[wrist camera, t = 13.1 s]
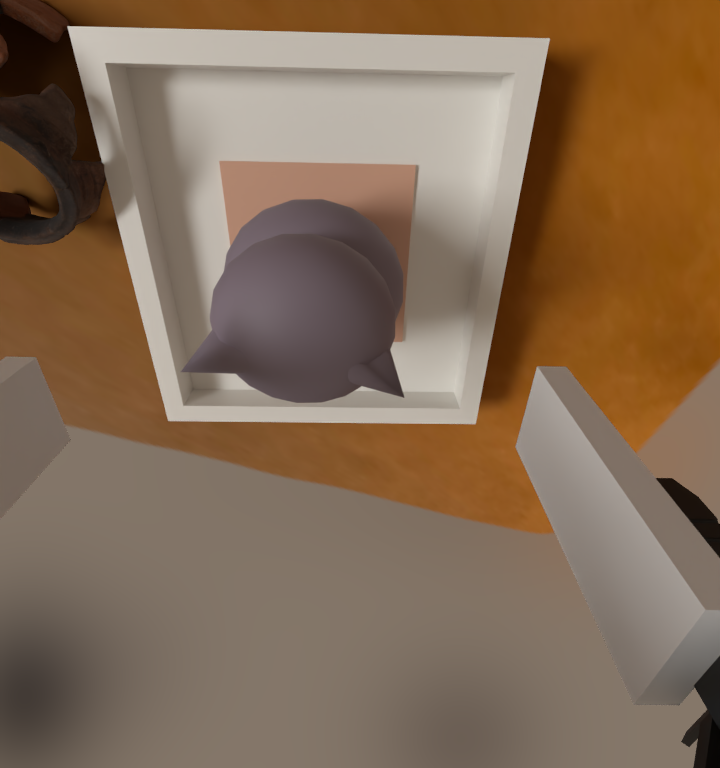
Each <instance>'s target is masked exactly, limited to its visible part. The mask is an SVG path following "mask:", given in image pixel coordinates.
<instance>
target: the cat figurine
mask: <svg viewBox="0 0 720 768" xmlns="http://www.w3.org/2000/svg"><path fill="white" fill-rule="evenodd" d="M402 303H403V271H402V268H401V265H400V262H399V259H398V256H397V253H396V250H395V248H394V247H393V245H392V244H391V243H390V242H389V240H388V239H387V238H386V236H385V235H384V234H383V233H382V231H381V230H380V229H379V227H378V226H377V225H376V224H375V223H373V222H372V221H370V220H369V219H367V218H366V217H364V216H363V215H361V214H360V213H359V212H357V211H356V210H354V209H353V208H350V207H347V206H344V205H341V204H337V203H334V202H331V201H327V200H324V199H299V200H290V201H288V202H285V203H282V204H279V205H276V206H273V207H270V208H267V209H264V210H263V211H261V212H260V213H259V214H258V215H256V216H255V217H254V218H253V219H251V220H250V221H249V222H248V223H246V224H245V225H244V226H243V227H241V229H240V231H239V233H238V234H237V236H236V238H235V239H234V241H233V243H232V245H231V246H230V248H229V250H228V252H227V254H226V261H225V267H224V272H223V274H222V276H221V277H220V279H219V281H218V282H217V284H216V286H215V288H214V290H213V296H212V303H211V310H210V323H211V327H212V331H211V332H210V333H209V335H208V336H207V337H206V339H205V340H204V341H203V343H202V344H201V345H200V347H199V348H198V349H197V351H196V352H195V353H194V355H193V356H192V357H191V359H190V360H189V361H188V363H187V364H186V365H185V367H184V368H183V369H182V371H181V372H193V373H228V374H236V375H238V376H239V377H240V378H241V379H242V380H243V381H244V382H246V383H247V384H248V385H249V386H251V387H253V388H255V389H257V390H259V391H261V392H263V393H265V394H267V395H269V396H271V397H273V398H277V399H281V400H286V401H290V402H295V403H322V402H325V401H329V400H333V399H336V398H340V397H344V396H346V395H348V394H350V393H351V392H353V391H355V390H356V389H358V388H360V387H361V386H363V387H367V388H370V389H374V390H378V391H381V392H385V393H388V394H392V395H396V396H399V397H403V398H404V394H403V391H402V388H401V384H400V381H399V377H398V374H397V371H396V367H395V364H394V361H393V357H392V354H391V351H390V349H391V347H392V344H393V342H394V339H395V321H396V319H397V316H398V313H399V311H400V308H401V306H402Z"/></svg>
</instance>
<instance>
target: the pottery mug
mask: <svg viewBox="0 0 720 768" xmlns="http://www.w3.org/2000/svg"><path fill="white" fill-rule="evenodd" d="M0 14H5V15H7V16H9V17H11V18H13V19H15V20H17V21H19V22H21V23H23V24H24V25H26V26H28V27H30V28H31V29H33V30H34V31H36V32H38V33H39V34H41V35H42V36H44V37H45V38H47V39H48V40H50V41H52V42H58V41H59V39H60V38H61V36H62V35H63V32H64V31H66V30H67V29H68V27H67V26H70V24H69V22H68V21H67V19H66V18H65V17H64V16H62V15H61V14H59V13H58V12H57V11H56V10H54V9H53V8H52V7H50V6H48V5H47V4H45V3H43V2H41V1H40V0H0ZM7 59H8V51H7V44H6V42H5V40H4V38H3V37H2V35H1V34H0V68H1V67H2V66H3V65H4V64H5V63H6V62H7ZM74 118H75V108H74V106H73V104H72V102H71V101H70V99H69V98H68V97H67V96H66V94H65V93H64V91H63V90H62V89H61V88H60V87H59V86H57V85H56V84H50V85H48V86H47V87H46V88H45V89H44V90H43V91H42V92H41V93H40V95H37V94H25V95H21V96H17V97H0V141H2V142H4V143H6V144H7V145H9V146H10V147H12V148H13V149H15V150H16V151H18V152H19V153H20V154H21V155H22V156H24V157H25V158H26V159H27V160H28V161H29V162H31V163H32V164H33V165H34V166H35V167H36V168H37V169H38V170H39V171H40V172H41V173H42V174H43V175H44V176H45V177H46V178H47V180H48V181H49V183H50V184H51V185H52V186H53V188H54V191H55V193H56V195H57V198H58V202H59V208H60V209H59V213H58V214H57V215H56V216H55V217H53V218H51V219H50V218H45V217H40V216H36V215H32V214H31V210H30V208H29V204H28V201H27V199H26V198H25V197H22V196H20V195H16V194H12V193H7V192H0V239H1V240H3V241H5V242H8V243H15V244H24V245H29V244H33V245H40V244H48V243H53V242H55V241H58V240H60V239H62V238H63V237H64V236H65V235H68V234H69V233H70V232H71V231H72V230H74V228H75V225H77V224H79V223H81V222H83V221H86V220H87V219H89V218H90V214H92V213H94V212H95V211H97V209H98V206H99V203H100V198H101V197H100V196H101V192H102V189H103V186H104V184H105V180H106V176H105V172H104V164H103V163H102V161H100V162H90V161H76V160H72V159H71V158H72V156H73V154H74V152H75V151H76V149H77V132H76V128H75V124H74Z"/></svg>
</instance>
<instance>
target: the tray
mask: <svg viewBox="0 0 720 768" xmlns="http://www.w3.org/2000/svg"><path fill="white" fill-rule="evenodd" d="M67 27H68V31H69V35H70V39H71V43H72V47H73V51H74V55H75V59H76V63H77V67H78V70H79V74H80V78H81V82H82V86H83V90H84V94H85V98H86V102H87V106H88V109H89V113H90V117H91V121H92V125H93V129H94V133H95V137H96V141H97V145H98V149H99V152H100V156H101V160H102V163H103V164H104V172H105V176H106V180H107V184H108V188H109V192H110V195H111V199H112V203H113V207H114V211H115V215H116V219H117V223H118V227H119V231H120V234H121V238H122V242H123V246H124V250H125V254H126V258H127V262H128V266H129V270H130V274H131V277H132V281H133V285H134V289H135V293H136V297H137V301H138V305H139V309H140V313H141V317H142V320H143V324H144V328H145V332H146V336H147V340H148V344H149V348H150V352H151V356H152V359H153V363H154V367H155V371H156V375H157V379H158V383H159V387H160V391H161V395H162V399H163V402H164V406H165V410H166V414H167V418H168V421H220V422H320V423H420V424H476V419H477V414H478V409H479V404H480V399H481V394H482V388H483V383H484V378H485V373H486V368H487V362H488V357H489V352H490V347H491V342H492V336H493V331H494V326H495V321H496V316H497V310H498V305H499V300H500V295H501V290H502V285H503V279H504V274H505V269H506V264H507V259H508V253H509V248H510V243H511V238H512V233H513V227H514V222H515V217H516V212H517V207H518V201H519V196H520V191H521V186H522V181H523V175H524V170H525V165H526V160H527V155H528V150H529V144H530V139H531V134H532V129H533V124H534V118H535V113H536V108H537V103H538V98H539V92H540V87H541V82H542V77H543V72H544V66H545V61H546V56H547V51H548V46H549V40H550V38H514V37H475V36H436V35H397V34H358V33H319V32H279V31H240V30H201V29H162V28H123V27H84V26H67ZM299 199H324V200H327V201H331V202H334V203H337V204H341V205H344V206H347V207H350V208H353V209H354V210H356V211H357V212H359V213H360V214H361V215H363V216H364V217H366V218H367V219H369V220H370V221H372V222H373V223H375V224H376V225H377V226H378V227H379V229H380V230H381V231H382V233H383V234H384V235H385V236H386V238H387V239H388V240H389V242H390V243H391V244H392V245H393V247H394V248H395V250H396V253H397V256H398V259H399V262H400V265H401V268H402V271H403V303H402V306H401V308H400V311H399V313H398V316H397V319H396V321H395V339H394V342H393V344H392V347H391V349H390V351H391V354H392V357H393V361H394V364H395V367H396V371H397V374H398V377H399V381H400V384H401V388H402V391H403V394H404V398H403V397H399V396H396V395H392V394H388V393H385V392H381V391H378V390H374V389H370V388H367V387H363V386H361V387H360V388H358V389H356V390H355V391H353V392H351V393H350V394H348V395H346V396H344V397H340V398H336V399H333V400H329V401H325V402H322V403H295V402H290V401H286V400H281V399H277V398H273V397H271V396H269V395H267V394H265V393H263V392H261V391H259V390H257V389H255V388H253V387H251V386H249V385H248V384H247V383H246V382H244V381H243V380H242V379H241V378H240V377H239V376H238V375H236V374H228V373H193V372H181V371H182V369H183V368H184V367H185V365H186V364H187V363H188V361H189V360H190V359H191V357H192V356H193V355H194V353H195V352H196V351H197V349H198V348H199V347H200V345H201V344H202V343H203V341H204V340H205V339H206V337H207V336H208V335H209V333H210V332H211V331H212V327H211V323H210V310H211V303H212V296H213V290H214V288H215V286H216V284H217V282H218V281H219V279H220V277H221V276H222V274H223V272H224V267H225V261H226V254H227V252H228V250H229V248H230V246H231V245H232V243H233V241H234V239H235V238H236V236H237V234H238V233H239V231H240V229H241V227H243V226H244V225H245V224H246V223H248V222H249V221H250V220H251V219H253V218H254V217H255V216H256V215H258V214H259V213H260V212H261V211H263V210H264V209H267V208H270V207H273V206H276V205H279V204H282V203H285V202H288V201H290V200H299Z"/></svg>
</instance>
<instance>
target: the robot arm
mask: <svg viewBox="0 0 720 768" xmlns="http://www.w3.org/2000/svg"><path fill="white" fill-rule="evenodd" d="M70 440H71V439H70V437H69V435H68V432H67V430H66V428H65V425H64V423H63V420H62V418H61V416H60V413H59V411H58V409H57V406H56V404H55V402H54V399H53V397H52V394H51V392H50V390H49V387H48V385H47V383H46V380H45V378H44V375H43V373H42V371H41V368H40V366H39V364H38V361H37V359H36V357H5V358H4V359H2V360H1V361H0V519H1V518H2V517H3V516H4V515H5V513H6V512H7V511H8V510H9V509H10V508H11V507H12V506H13V504H14V503H15V502H16V501H17V500H18V499H19V498H20V496H21V495H22V494H23V493H24V492H25V491H26V490H27V489H28V488H29V486H30V485H31V484H32V483H33V482H34V481H35V480H36V479H37V477H38V476H39V475H40V474H41V473H42V472H43V470H44V469H45V468H46V467H47V466H48V465H49V464H50V463H51V462H52V460H53V459H54V458H55V457H56V456H57V455H58V454H59V453H60V451H61V450H62V449H63V448H64V447H65V446H66V444H68V442H69V441H70ZM516 449H517V451H518V454H519V456H520V458H521V460H522V462H523V464H524V467H525V469H526V471H527V473H528V475H529V478H530V480H531V482H532V484H533V486H534V488H535V491H536V493H537V495H538V497H539V499H540V501H541V504H542V506H543V508H544V510H545V512H546V515H547V517H548V519H549V521H550V523H551V525H552V528H553V530H554V532H555V534H556V536H557V539H558V541H559V543H560V545H561V547H562V549H563V552H564V554H565V556H566V558H567V560H568V562H569V565H570V567H571V569H572V571H573V573H574V576H575V577H576V580H577V582H578V584H579V586H580V589H581V591H582V593H583V595H584V597H585V599H586V602H587V603H588V606H589V608H590V610H591V613H592V615H593V617H594V619H595V621H596V623H597V625H598V628H599V630H600V632H601V634H602V637H603V639H604V641H605V643H606V645H607V647H608V649H609V652H610V654H611V656H612V658H613V660H614V663H615V665H616V667H617V669H618V671H619V673H620V676H621V678H622V680H623V682H624V684H625V687H626V689H627V691H628V693H629V695H630V697H631V700H632V702H633V704H634V705H680V703H682V701H683V700H684V699H685V698H686V697H687V696H688V695H689V693H690V692H691V691H692V690H693V689H694V688H696V690H697V692H698V694H699V695H700V697H701V699H702V701H703V702H704V704H705V705H706V707H707V709H708V710H707V711H706V712H705V713H704V714H703V715H702V716H701V717H700V718H699V719H698V720H697V721H696V722H695V723H694V724H693V725H692V726H691V727H690V728H689V729H688V730H687V732H686V734H685V736H684V738H683V740H682V741H681V742H683V743H684V744H686V745H687V746H688V747H690V746H691V744H692V743H693V742H695V741H696V740H697V739H698V742H697V748H696V755H695V761H694V767H693V768H720V524H719V523H718V521H717V518H716V517H715V516H714V514H713V513H712V512H711V511H710V510H709V509H708V508H707V506H706V505H705V504H704V503H703V502H702V501H701V500H700V499H699V497H697V496H696V495H695V494H693V493H692V492H690V491H689V490H688V489H686V488H685V487H683V486H682V485H681V484H679V483H678V482H677V481H675V480H674V479H672V478H655V477H654V476H653V474H652V473H651V472H650V471H649V470H648V468H647V467H646V466H645V464H644V463H643V462H642V461H641V459H640V458H639V457H638V456H637V454H636V453H635V452H634V451H633V449H632V448H631V447H630V446H629V444H628V443H627V442H626V441H625V439H624V438H623V437H622V436H621V435H620V433H619V432H618V431H617V430H616V428H615V427H614V426H613V425H612V423H611V422H610V421H609V420H608V418H607V417H606V416H605V415H604V413H603V412H602V411H601V410H600V408H599V407H598V406H597V405H596V403H595V402H594V401H593V400H592V398H591V397H590V396H589V395H588V393H587V392H586V391H585V390H584V388H583V387H582V386H581V385H580V383H579V382H578V381H577V380H576V378H575V377H574V376H573V375H572V373H571V372H570V371H569V370H568V368H567V367H549V366H537V369H536V373H535V376H534V380H533V384H532V388H531V391H530V395H529V399H528V403H527V406H526V410H525V414H524V418H523V421H522V425H521V429H520V433H519V436H518V440H517V444H516Z"/></svg>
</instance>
